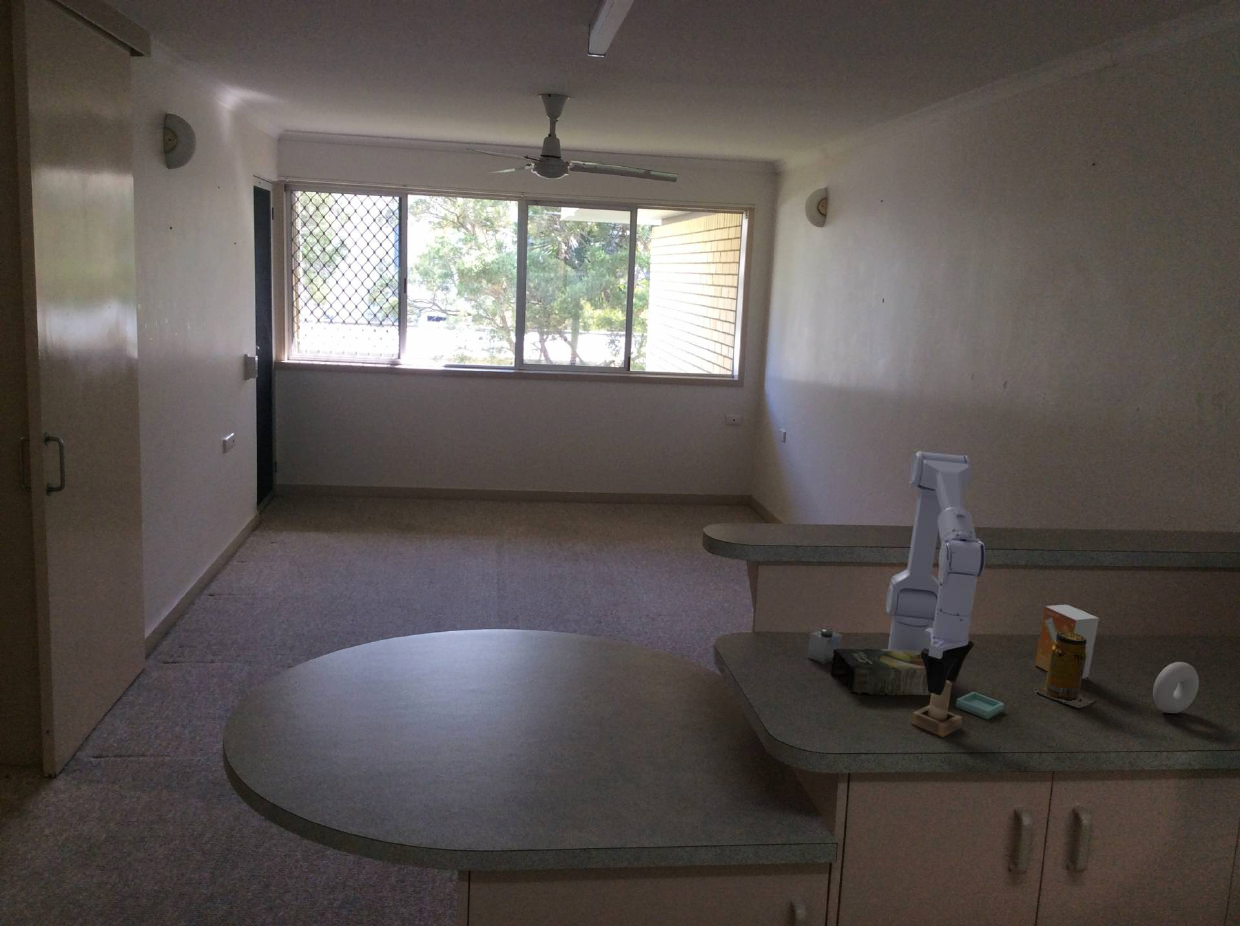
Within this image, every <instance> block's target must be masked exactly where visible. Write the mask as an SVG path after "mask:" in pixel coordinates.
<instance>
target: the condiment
mask: <svg viewBox="0 0 1240 926" xmlns="http://www.w3.org/2000/svg"><path fill="white" fill-rule="evenodd" d="M1086 643H1087V640H1086V639H1085V638H1084V637H1083V636H1081V635H1078V634H1075V633H1071V632H1059V633H1057V635H1056V641H1055V645H1054V646H1053V647H1052V650H1051V655H1050V662H1049V665H1048V666H1049V667H1048V672H1046V677H1045V678H1046V679H1045V683H1044V684H1045V685H1044V689H1045V693H1047V695H1050V696H1051V697H1054V698H1057V699H1062V700H1063V699H1064V700H1066V701H1072V700H1076V699H1077V698H1078V696H1079V695H1081V688H1082V683H1083V682H1082V681H1083V680H1082V677H1083V671H1084V667H1085V661H1086V653H1085V650H1086ZM1037 691H1038V690H1037ZM1037 691H1036V690H1035V692H1037Z"/></svg>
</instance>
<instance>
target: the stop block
mask: <svg viewBox="0 0 1240 926" xmlns="http://www.w3.org/2000/svg"><path fill="white" fill-rule="evenodd" d="M842 638H843V635H842V634H840V633H838V632H835V631H833V629H830V628H827V627H822V628H820V630H818V631H814V632H811V633H809V641H808V650H807V655H806V656H807V658H809V659H811V660H813V661H816V662H817V663H820V664H823V665H826V664H829V663H832V660H833V656H834V654H833V650H834V649H841V646H842Z"/></svg>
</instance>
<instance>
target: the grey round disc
mask: <svg viewBox="0 0 1240 926" xmlns="http://www.w3.org/2000/svg"><path fill="white" fill-rule="evenodd" d="M1199 683H1200V680H1199V675H1198V672H1197V671H1196V669H1195V667H1194V666H1192V665H1191V664H1189V663H1187V662H1183V661H1175V662H1173V663H1169V664H1168V665H1166V667H1164V668H1163V669H1162V670H1161V672H1160V673H1159V674H1158V676H1157V677H1156V679H1155V682H1154V685H1153V688H1152V689H1153V690H1152V699H1153V702H1154V704H1155V705H1156V707H1157V708H1158V709H1159V710H1160V711H1162V712H1164V713H1165V712H1167V713H1166V714H1168V713H1176V714H1178V713H1181V712H1184V711H1185V710H1186V709H1187V708H1189V707H1190V705H1191V704H1192V703H1193V702H1194V700H1195V698H1196V696H1197V693H1198V691H1199Z"/></svg>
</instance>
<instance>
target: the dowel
mask: <svg viewBox="0 0 1240 926" xmlns="http://www.w3.org/2000/svg"><path fill="white" fill-rule="evenodd" d="M952 685H953V682H951V681H948V680H946V684H945V687H944V690H943V692H942V694H941V695H937V694H933V693H931V695H930V699H929V705H930V706H929V713H928V717H930V718H933V719H935V720H937V721H940V722H942V723H943V722H945V721H946V718H947V711H948V710H949V704H950V697H951V691H952ZM948 712H949V711H948Z"/></svg>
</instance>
